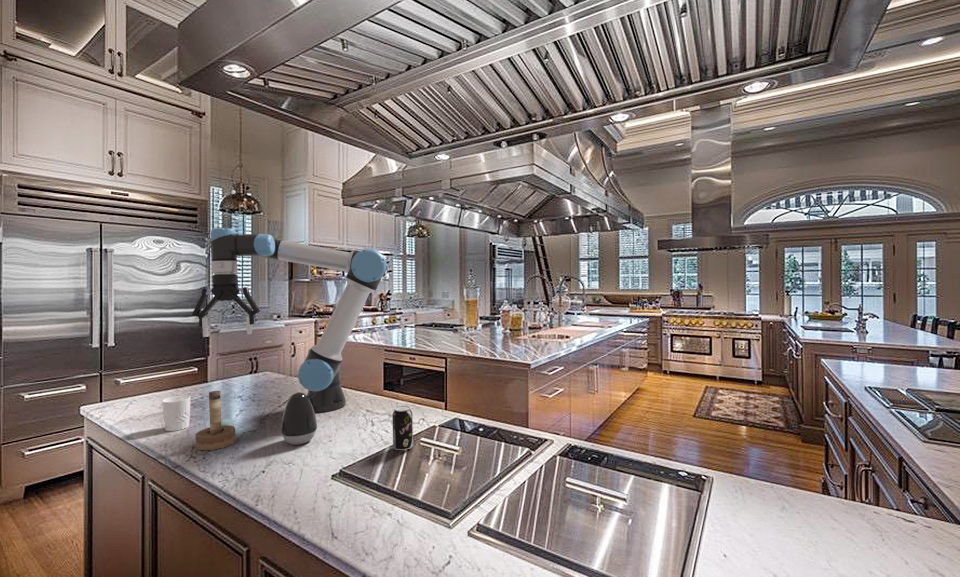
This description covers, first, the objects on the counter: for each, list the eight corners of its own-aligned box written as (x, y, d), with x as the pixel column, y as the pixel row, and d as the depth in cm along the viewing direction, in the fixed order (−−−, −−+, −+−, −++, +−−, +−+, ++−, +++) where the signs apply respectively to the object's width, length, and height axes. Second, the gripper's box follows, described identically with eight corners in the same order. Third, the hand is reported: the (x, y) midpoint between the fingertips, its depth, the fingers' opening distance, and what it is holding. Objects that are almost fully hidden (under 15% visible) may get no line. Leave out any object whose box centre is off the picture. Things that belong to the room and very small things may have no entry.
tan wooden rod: (223, 441, 133) (221, 390, 132) (219, 445, 130) (218, 393, 129) (212, 442, 132) (211, 391, 132) (208, 446, 129) (207, 393, 129)
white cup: (196, 424, 149) (195, 395, 149) (178, 432, 141) (177, 402, 141) (176, 423, 150) (175, 395, 150) (156, 431, 142) (155, 402, 142)
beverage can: (416, 445, 127) (415, 405, 126) (407, 453, 121) (406, 411, 121) (399, 443, 129) (398, 404, 128) (389, 451, 123) (388, 410, 123)
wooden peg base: (239, 436, 137) (239, 424, 136) (227, 448, 127) (227, 435, 127) (205, 439, 135) (204, 426, 135) (190, 452, 125) (189, 438, 125)
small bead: (236, 428, 145) (235, 418, 145) (229, 434, 139) (229, 424, 139) (216, 429, 144) (216, 419, 143) (209, 436, 138) (208, 425, 138)
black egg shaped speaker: (324, 440, 132) (322, 391, 132) (290, 451, 124) (288, 399, 124) (308, 432, 139) (307, 386, 138) (275, 442, 131) (274, 393, 131)
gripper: (178, 274, 140) (182, 338, 141) (261, 272, 146) (264, 334, 147) (188, 274, 148) (191, 335, 148) (267, 272, 154) (269, 331, 154)
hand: (227, 335), depth 148 cm, fingers open, 13 cm apart
